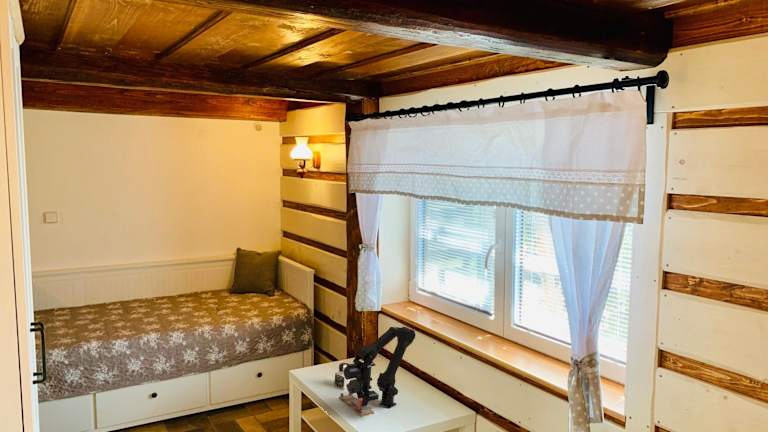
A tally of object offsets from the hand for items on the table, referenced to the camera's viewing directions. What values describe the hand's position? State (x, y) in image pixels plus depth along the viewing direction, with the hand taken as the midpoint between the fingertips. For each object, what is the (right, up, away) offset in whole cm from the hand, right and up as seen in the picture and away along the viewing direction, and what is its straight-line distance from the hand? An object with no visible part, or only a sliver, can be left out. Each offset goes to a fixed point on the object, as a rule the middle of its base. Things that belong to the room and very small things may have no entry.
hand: (362, 406), depth 264 cm
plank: (-3, -1, +5) cm, 6 cm away
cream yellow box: (-11, +1, +28) cm, 30 cm away
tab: (-2, 0, +3) cm, 4 cm away
